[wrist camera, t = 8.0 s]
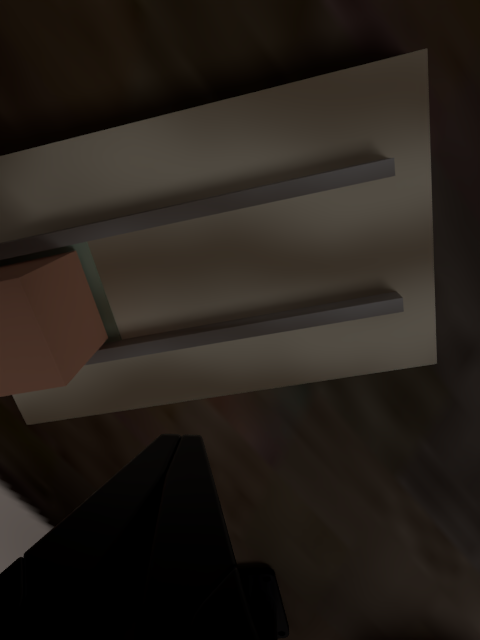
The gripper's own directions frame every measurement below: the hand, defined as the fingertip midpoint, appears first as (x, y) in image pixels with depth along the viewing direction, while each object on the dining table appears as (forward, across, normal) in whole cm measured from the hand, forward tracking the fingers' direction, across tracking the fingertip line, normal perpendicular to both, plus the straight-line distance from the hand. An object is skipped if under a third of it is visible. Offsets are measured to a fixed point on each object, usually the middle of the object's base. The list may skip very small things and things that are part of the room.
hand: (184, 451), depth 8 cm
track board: (+11, +2, -1) cm, 11 cm away
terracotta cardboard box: (+9, +8, 0) cm, 12 cm away
